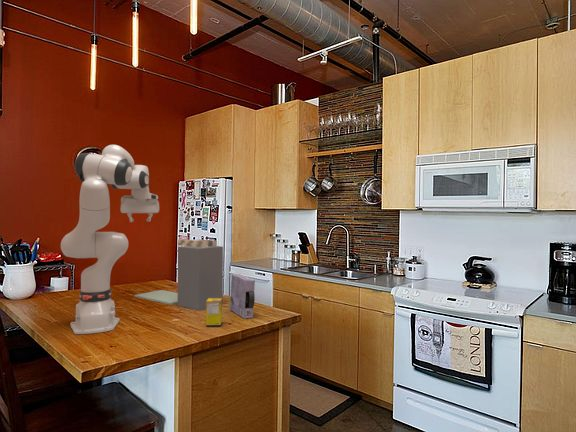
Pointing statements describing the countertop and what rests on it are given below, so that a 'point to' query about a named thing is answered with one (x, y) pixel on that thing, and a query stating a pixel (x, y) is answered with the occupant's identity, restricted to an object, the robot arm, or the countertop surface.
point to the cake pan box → (242, 296)
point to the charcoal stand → (199, 275)
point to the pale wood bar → (211, 243)
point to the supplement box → (214, 312)
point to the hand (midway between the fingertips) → (140, 221)
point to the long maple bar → (193, 243)
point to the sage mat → (160, 297)
